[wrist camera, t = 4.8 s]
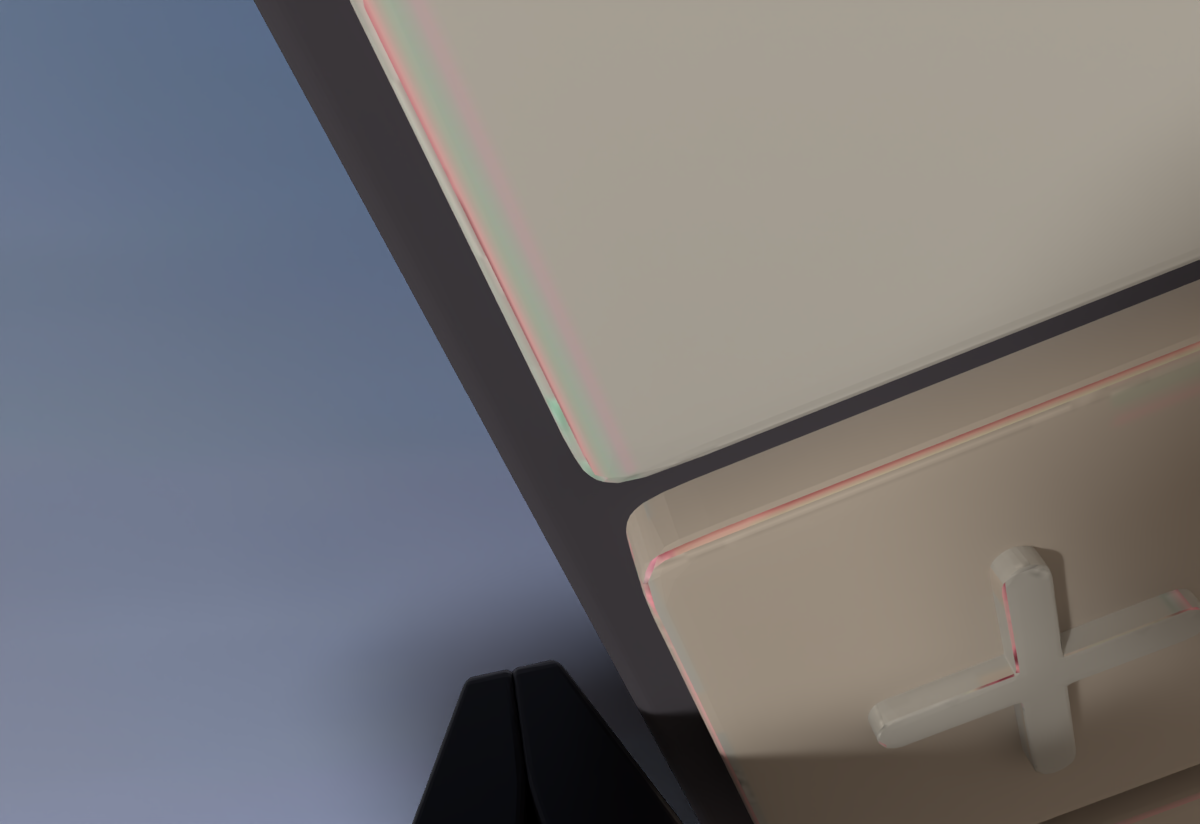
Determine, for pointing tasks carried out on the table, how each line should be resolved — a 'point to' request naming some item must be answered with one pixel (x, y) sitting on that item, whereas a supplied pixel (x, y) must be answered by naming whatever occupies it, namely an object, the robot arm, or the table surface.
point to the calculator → (827, 369)
